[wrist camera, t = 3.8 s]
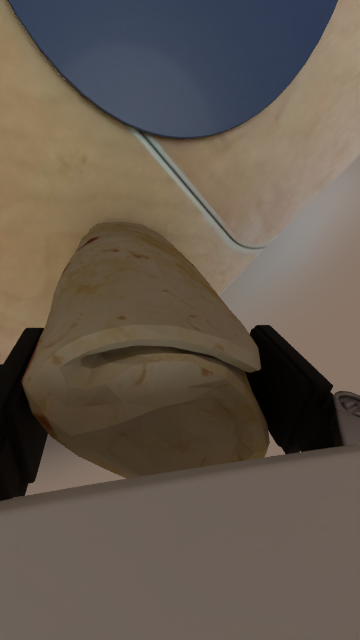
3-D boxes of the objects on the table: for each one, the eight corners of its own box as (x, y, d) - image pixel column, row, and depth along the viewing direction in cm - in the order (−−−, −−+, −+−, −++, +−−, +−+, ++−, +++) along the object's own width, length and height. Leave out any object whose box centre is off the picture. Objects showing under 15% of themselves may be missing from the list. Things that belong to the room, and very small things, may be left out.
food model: (70, 253, 22) (-79, 487, 5) (114, 190, 21) (103, 237, 4) (155, 310, 27) (220, 537, 10) (197, 262, 25) (360, 433, 8)
